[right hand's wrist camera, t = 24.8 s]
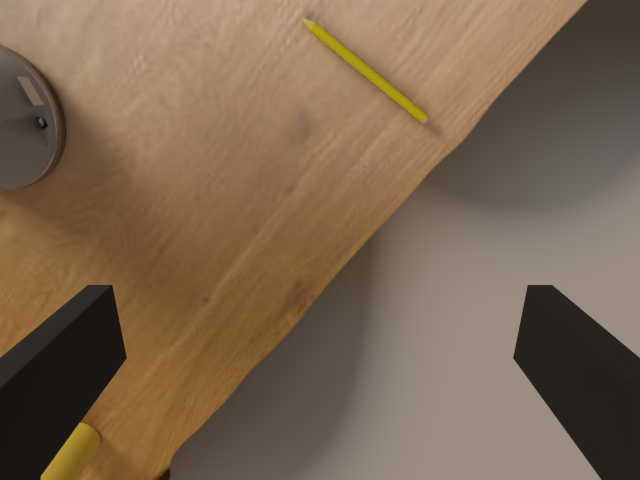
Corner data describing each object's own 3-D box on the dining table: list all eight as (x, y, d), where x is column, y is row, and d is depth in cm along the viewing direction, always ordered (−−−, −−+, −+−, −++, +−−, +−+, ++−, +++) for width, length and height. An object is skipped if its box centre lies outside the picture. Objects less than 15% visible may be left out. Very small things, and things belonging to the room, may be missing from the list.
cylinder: (51, 437, 59) (-7, 511, 49) (74, 415, 58) (20, 487, 47) (85, 458, 61) (36, 536, 50) (109, 437, 59) (63, 512, 49)
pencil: (428, 116, 43) (430, 117, 42) (422, 124, 44) (424, 124, 43) (303, 13, 40) (303, 11, 39) (298, 22, 40) (297, 20, 39)
